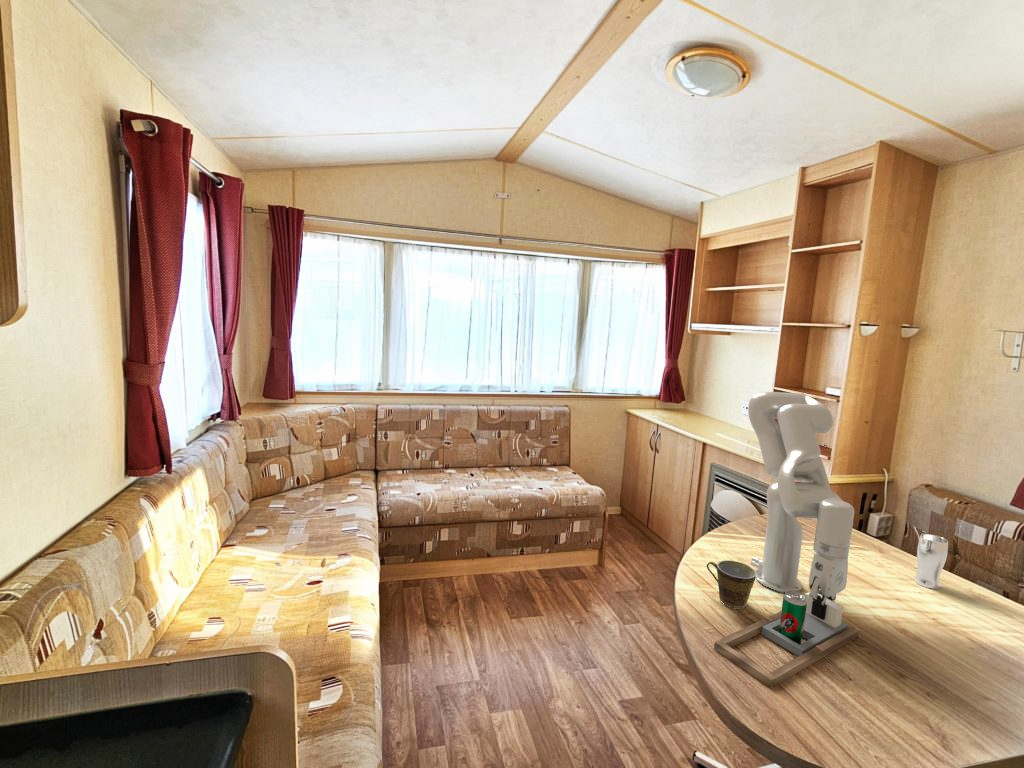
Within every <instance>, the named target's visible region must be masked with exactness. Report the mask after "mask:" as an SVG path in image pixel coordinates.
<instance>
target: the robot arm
mask: <svg viewBox="0 0 1024 768" xmlns="http://www.w3.org/2000/svg"><path fill="white" fill-rule="evenodd" d="M747 413H748V418H749V422H750V424H751V427H752V429H753V430H754V432H755V435H756V437H757V440H758V443H759V447H760V452H761V456H762V460H763V464H764V468H765V470H766V473H767V475H768V476H769V477H771V478H773V479H776V480H777V481H775V482H773V483H772V484H770V485H769V486H768V487H767V490H766V504H767V505H766V506H767V518H766V519H767V520H766V529H765V530H766V531H765V538H764V545H763V554H762V559H760V558H759V557H757V556H752V558H751V562H750V565H751V566H753V567H755V568H757V570H755V572H756V578H755V580H756V579H757V580H758V581H759V582H760V583H761V584H760V583H759V582H758V581H757V580H756V581H757V582H758V583H759V584H760V585H762V584H763V585H764V586H763V585H762V586H763V587H765V586H766V587H765V588H767V587H769V588H771V589H770V590H772V589H774V590H773V591H775V590H777V591H776V592H778V591H781V592H780V593H783V592H785V593H786V592H788V591H792V592H797V593H800V592H801V591H802V589H803V583H802V581H801V580H800V579H798V575H799V574H798V573H799V566H800V558H801V550H802V543H803V535H804V533H803V532H804V531H803V527H802V524H800V521H799V520H798V518H805V519H806V518H807V519H817V520H816V526H815V534H814V540H813V547H812V550H813V552H814V554H813V558H812V562H811V567H810V570H809V576H808V577H809V578H808V588H809V589H810V591H809V592H810V593H809V596H810V597H812V600H813V602H812V610H811V614H812V615H814V616H816V617H818V618H820V619H822V620H824V619H825V615H826V608H827V605H825V603H826V598H827V599H829V600H831V601H833V602H835V601H836V599H837V594H838V593H841V592H843V591H844V590H845V589H846V588H847V582H848V568H849V555H850V554H849V552H850V546H851V539H852V532H853V526H854V519H855V517H854V516H855V508H854V506H853V505H852V504H850V503H849V502H846V501H844V500H842V498H841V497H840V496H839V495H838V494H837V493H836V492H834V491H832V489H831V486H830V482H829V479H828V478H829V477H828V475H827V472H826V468H825V465H824V462H823V461H822V458H821V452H822V451H821V447H820V443H819V442H818V438H817V434H825V433H828V432H830V430H831V429H832V428H833V425H834V419H833V418H834V417H833V416H832V415H833V414H832V413H831V411H830V410H829V408H828V407H827V406H826V405H824V404H823V403H822V402H820V401H818V400H816V399H814V397H812V396H811V395H807V394H805V393H800V392H784V391H783V392H780V391H761V392H758V393H755V394H754V395H752V396H751V398H750V399H749V401H748V407H747ZM775 419H777V421H776V420H775ZM769 588H768V589H769ZM785 593H784V594H785ZM818 594H819V595H821V596H822V598H821V596H819V595H818ZM835 603H836V602H835Z"/></svg>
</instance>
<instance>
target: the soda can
mask: <svg viewBox="0 0 1024 768" xmlns="http://www.w3.org/2000/svg"><path fill="white" fill-rule="evenodd" d="M806 607H807V602H806V598H805V595H803V594H801V593H800V592H792V591H788V592H786V593H784V595H783V596H782V603H781V618H780V626H779V633H780V634H782V635H784V636H786V637H787V638H789V639H791V640H792V641H794V642H796V643H798V644H799V645H800V644H802V643H803V638H804V637H803V630H804V622H805V615H806Z"/></svg>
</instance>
